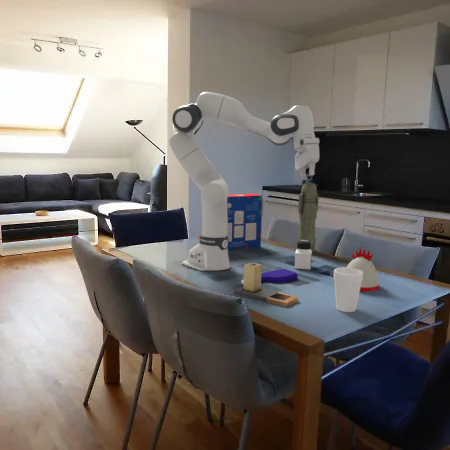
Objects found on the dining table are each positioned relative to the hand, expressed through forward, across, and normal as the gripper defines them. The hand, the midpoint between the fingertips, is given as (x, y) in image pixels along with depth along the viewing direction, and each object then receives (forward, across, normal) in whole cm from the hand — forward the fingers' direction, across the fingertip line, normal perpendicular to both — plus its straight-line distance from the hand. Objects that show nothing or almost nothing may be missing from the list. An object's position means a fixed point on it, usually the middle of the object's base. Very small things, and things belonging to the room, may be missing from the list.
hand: (308, 177), depth 189 cm
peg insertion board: (+45, +16, -26) cm, 54 cm away
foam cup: (+51, +30, -2) cm, 59 cm away
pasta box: (+25, -62, -22) cm, 70 cm away
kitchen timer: (+45, +7, +14) cm, 48 cm away
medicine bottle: (+37, -22, +1) cm, 43 cm away
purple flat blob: (+41, -4, -20) cm, 46 cm away
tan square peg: (+44, +12, -30) cm, 54 cm away
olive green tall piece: (+29, -52, +14) cm, 61 cm away
